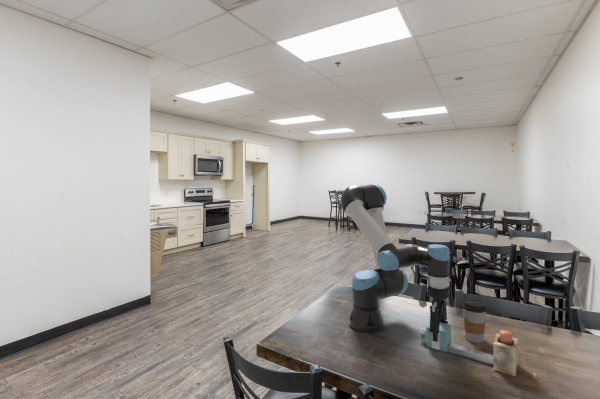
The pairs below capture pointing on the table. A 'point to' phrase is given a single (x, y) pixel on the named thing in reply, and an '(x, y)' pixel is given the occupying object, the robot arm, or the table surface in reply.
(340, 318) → the table surface
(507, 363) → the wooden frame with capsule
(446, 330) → the block
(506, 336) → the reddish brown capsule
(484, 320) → the coffee cup
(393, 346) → the table surface
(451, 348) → the rail
